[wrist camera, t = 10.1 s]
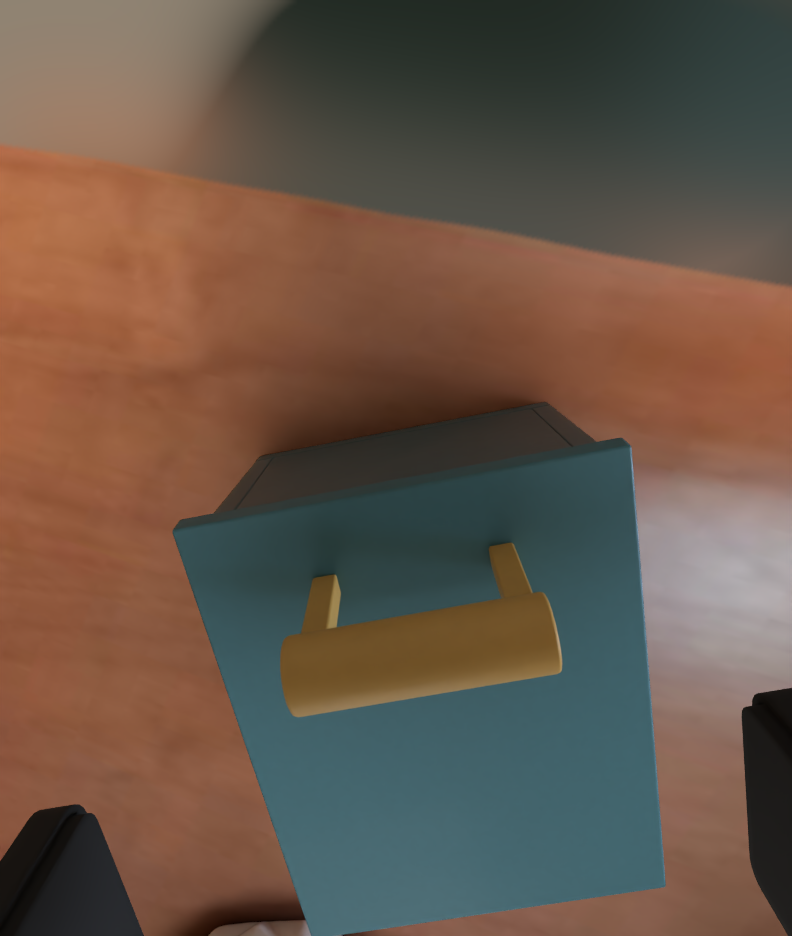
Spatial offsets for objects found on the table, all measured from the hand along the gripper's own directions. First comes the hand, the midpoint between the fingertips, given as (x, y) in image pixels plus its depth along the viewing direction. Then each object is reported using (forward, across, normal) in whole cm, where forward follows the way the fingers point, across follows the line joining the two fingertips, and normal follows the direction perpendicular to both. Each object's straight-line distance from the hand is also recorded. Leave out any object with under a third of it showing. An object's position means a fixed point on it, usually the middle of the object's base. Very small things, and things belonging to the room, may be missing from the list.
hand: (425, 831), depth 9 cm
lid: (+11, 0, +6) cm, 12 cm away
